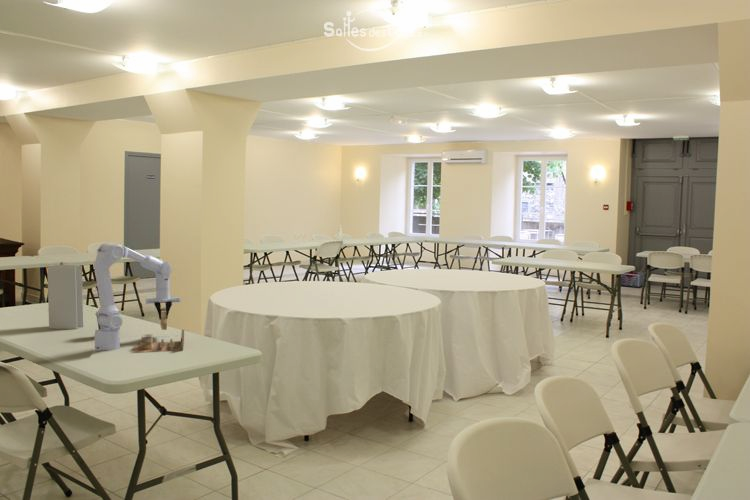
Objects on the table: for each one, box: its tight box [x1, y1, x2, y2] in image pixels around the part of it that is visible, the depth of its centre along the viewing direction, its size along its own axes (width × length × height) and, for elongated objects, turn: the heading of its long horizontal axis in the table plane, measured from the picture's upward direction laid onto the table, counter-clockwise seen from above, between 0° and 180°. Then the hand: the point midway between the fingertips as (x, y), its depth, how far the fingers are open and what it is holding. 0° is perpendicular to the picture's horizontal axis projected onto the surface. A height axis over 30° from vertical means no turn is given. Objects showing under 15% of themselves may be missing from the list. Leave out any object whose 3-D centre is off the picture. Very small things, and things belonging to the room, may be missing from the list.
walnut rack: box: [130, 329, 185, 354], centre depth 263 cm, size 20×18×6 cm
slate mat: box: [153, 334, 179, 338], centre depth 280 cm, size 12×13×1 cm
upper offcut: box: [140, 333, 154, 343], centre depth 261 cm, size 4×5×2 cm
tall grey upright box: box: [46, 264, 84, 330], centre depth 304 cm, size 14×6×30 cm, turn 84°
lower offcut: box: [140, 339, 154, 350], centre depth 262 cm, size 4×7×2 cm, turn 15°
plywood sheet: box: [159, 306, 168, 331], centre depth 279 cm, size 2×10×8 cm, turn 22°
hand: (163, 319), depth 279 cm, fingers closed on plywood sheet, 2 cm apart
